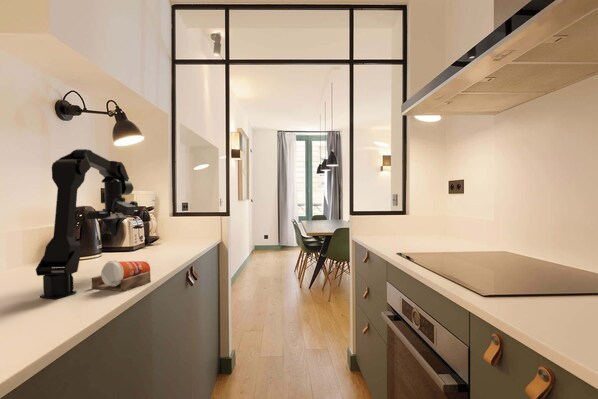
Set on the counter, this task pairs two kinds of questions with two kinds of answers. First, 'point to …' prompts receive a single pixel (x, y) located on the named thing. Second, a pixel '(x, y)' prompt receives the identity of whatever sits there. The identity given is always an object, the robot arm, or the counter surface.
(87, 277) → the counter surface
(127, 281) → the u rest
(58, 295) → the robot arm
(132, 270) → the paper cup
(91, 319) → the counter surface
